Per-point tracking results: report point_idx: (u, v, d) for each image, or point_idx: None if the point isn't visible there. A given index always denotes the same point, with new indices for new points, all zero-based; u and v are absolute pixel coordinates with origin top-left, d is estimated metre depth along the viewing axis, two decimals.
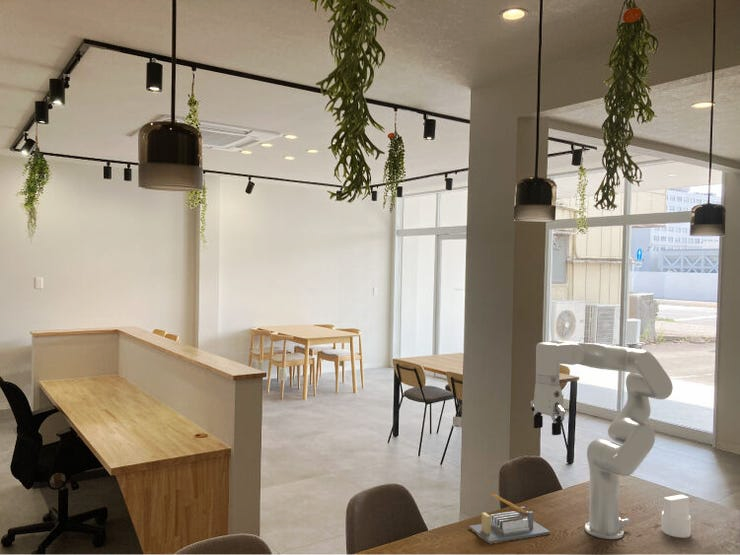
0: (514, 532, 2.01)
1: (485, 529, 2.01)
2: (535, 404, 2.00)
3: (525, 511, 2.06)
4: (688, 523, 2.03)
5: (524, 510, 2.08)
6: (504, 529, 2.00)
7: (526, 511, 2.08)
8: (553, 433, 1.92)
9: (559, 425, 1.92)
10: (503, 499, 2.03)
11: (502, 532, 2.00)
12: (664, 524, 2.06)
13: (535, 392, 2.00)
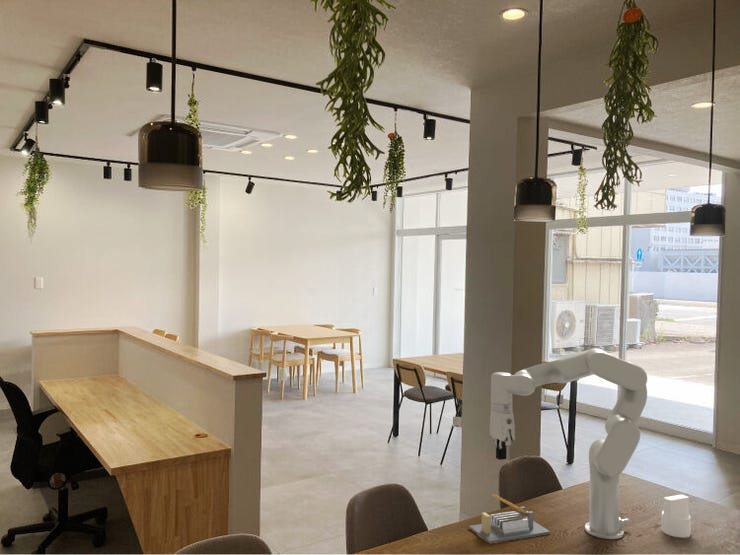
0: (514, 532, 2.01)
1: (485, 529, 2.01)
2: (490, 430, 2.15)
3: (525, 511, 2.06)
4: (688, 523, 2.03)
5: (524, 510, 2.08)
6: (504, 529, 2.00)
7: (526, 511, 2.08)
8: (499, 458, 2.11)
9: (504, 450, 2.11)
10: (503, 499, 2.03)
11: (502, 532, 2.00)
12: (664, 524, 2.06)
13: (490, 418, 2.15)
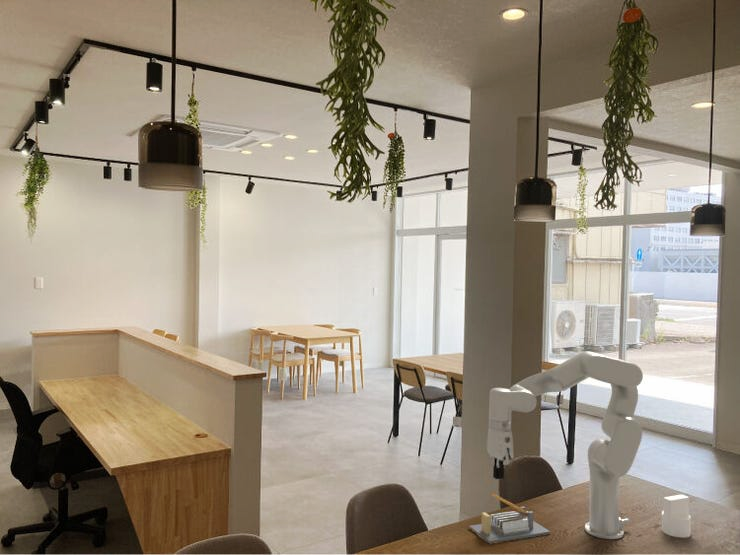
0: (514, 532, 2.01)
1: (485, 529, 2.01)
2: (488, 447, 2.07)
3: (525, 511, 2.06)
4: (688, 523, 2.03)
5: (524, 510, 2.08)
6: (504, 529, 2.00)
7: (526, 511, 2.08)
8: (496, 477, 2.03)
9: (502, 469, 2.03)
10: (503, 499, 2.03)
11: (502, 532, 2.00)
12: (664, 524, 2.06)
13: (488, 436, 2.07)
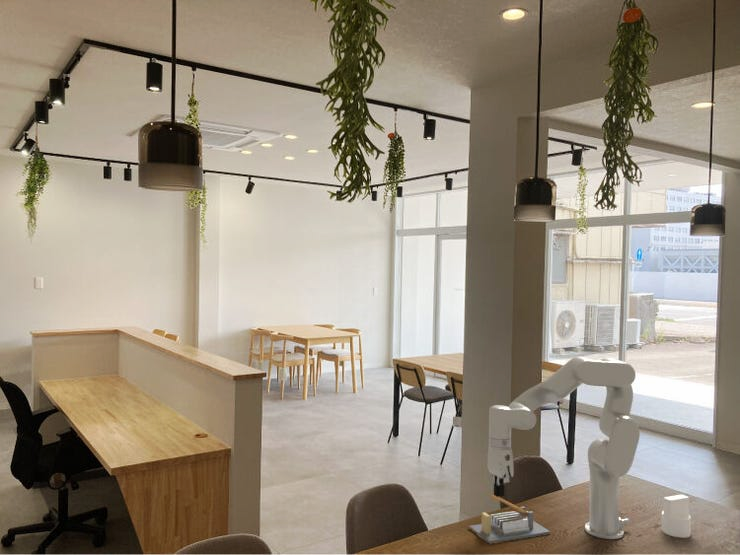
0: (514, 532, 2.01)
1: (485, 529, 2.01)
2: (488, 465, 2.07)
3: (525, 511, 2.06)
4: (688, 523, 2.03)
5: (524, 510, 2.08)
6: (504, 529, 2.00)
7: (526, 511, 2.08)
8: (496, 495, 2.03)
9: (502, 487, 2.03)
10: (503, 500, 2.03)
11: (502, 532, 2.00)
12: (664, 524, 2.06)
13: (488, 453, 2.07)
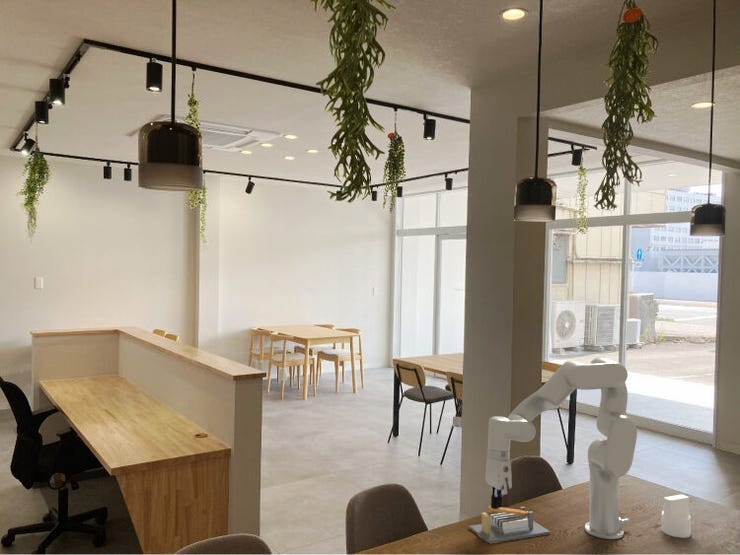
0: (514, 532, 2.01)
1: (485, 529, 2.01)
2: (486, 476, 2.07)
3: (524, 513, 2.06)
4: (688, 523, 2.03)
5: (524, 511, 2.08)
6: (504, 529, 2.00)
7: (526, 511, 2.08)
8: (494, 506, 2.03)
9: (500, 499, 2.03)
10: (499, 509, 2.03)
11: (502, 532, 2.00)
12: (664, 524, 2.06)
13: (487, 464, 2.07)
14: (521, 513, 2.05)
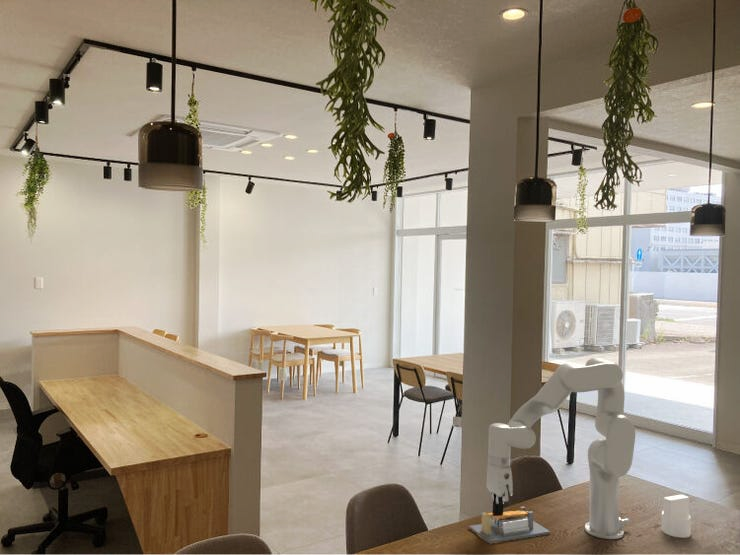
0: (514, 532, 2.01)
1: (485, 529, 2.01)
2: (487, 483, 2.07)
3: (524, 513, 2.06)
4: (688, 523, 2.03)
5: (523, 511, 2.08)
6: (504, 529, 2.00)
7: (525, 511, 2.08)
8: (495, 513, 2.03)
9: (501, 505, 2.03)
10: (498, 515, 2.02)
11: (502, 532, 2.00)
12: (664, 524, 2.06)
13: (487, 471, 2.07)
14: (521, 515, 2.05)
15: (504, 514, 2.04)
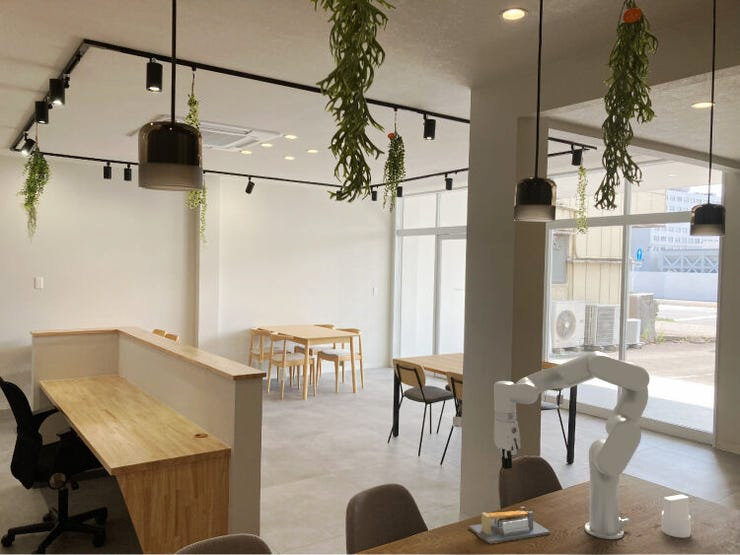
0: (514, 532, 2.01)
1: (485, 529, 2.01)
2: (495, 439, 2.14)
3: (524, 514, 2.06)
4: (688, 523, 2.03)
5: (523, 511, 2.08)
6: (504, 529, 2.00)
7: (525, 511, 2.08)
8: (505, 467, 2.10)
9: (510, 459, 2.10)
10: (498, 515, 2.02)
11: (502, 532, 2.00)
12: (664, 524, 2.06)
13: (495, 428, 2.14)
14: (521, 515, 2.05)
15: (504, 514, 2.04)
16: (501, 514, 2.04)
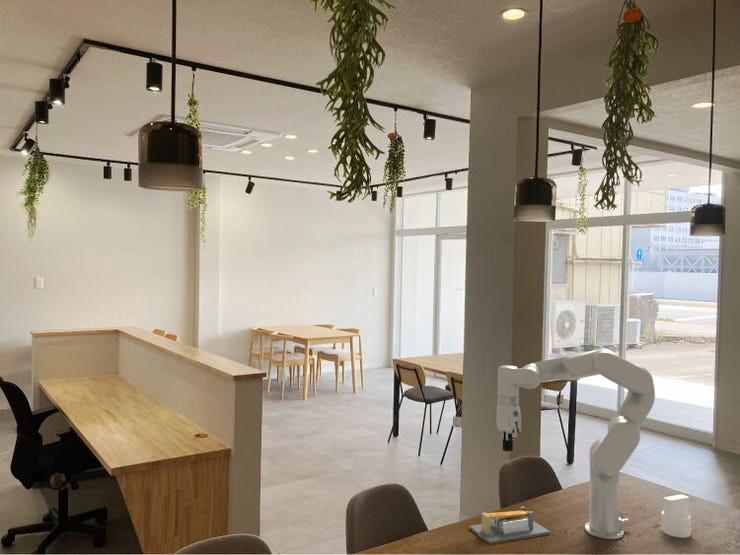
0: (514, 532, 2.01)
1: (485, 529, 2.01)
2: (497, 422, 2.18)
3: (524, 514, 2.06)
4: (688, 523, 2.03)
5: (523, 511, 2.08)
6: (504, 529, 2.00)
7: (525, 511, 2.08)
8: (505, 449, 2.15)
9: (511, 442, 2.14)
10: (498, 515, 2.02)
11: (502, 532, 2.00)
12: (664, 524, 2.06)
13: (497, 411, 2.18)
14: (521, 515, 2.05)
15: (504, 514, 2.04)
16: (501, 514, 2.04)
